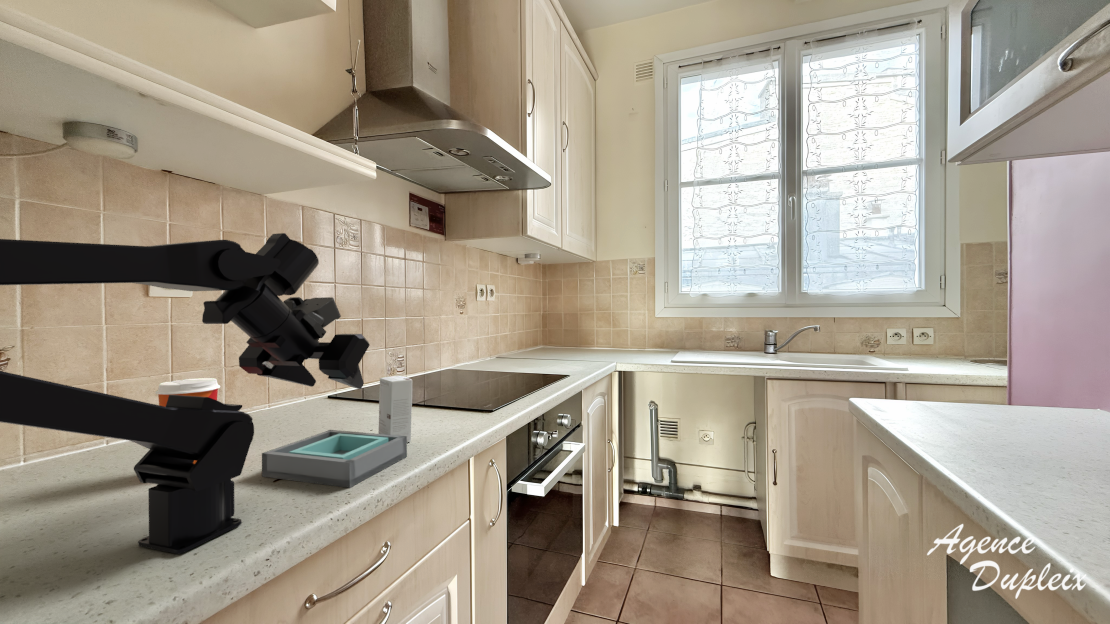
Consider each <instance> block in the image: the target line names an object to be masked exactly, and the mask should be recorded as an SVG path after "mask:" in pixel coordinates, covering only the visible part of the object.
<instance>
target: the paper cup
mask: <svg viewBox="0 0 1110 624" xmlns="http://www.w3.org/2000/svg"><path fill="white" fill-rule="evenodd" d="M220 388H221V385H220V384H218V380H217V378H215V377H214V378H213V377H212V378H211V377H203V378H202V377H201V378H198V377H197V378H196V377H195V378H186V379H177V380H171V381H164V382H161V383H159V385H158V390H156V391H155V392H154V394H156V395H158V405H160V406H164V407H166V404H167V401H168V397H169V395H183V396H198V397H209V398H212V399H215V400H217V401H218V394H219V393H218V391H219V389H220ZM196 462H197V461H196V460H194V462H193V464H195V463H196Z"/></svg>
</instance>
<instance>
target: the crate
mask: <svg viewBox="0 0 1110 624" xmlns="http://www.w3.org/2000/svg"><path fill="white" fill-rule="evenodd" d="M407 457H408V443H407V436H398V435H386V434H379V433H375V432H374V433H373V432H362V431H361V432H359V431H349V430H338V429H337V430H336V429H328V430H325V431H321V432H320V433H316V434H313V435H311V436H308V437H305V438H302V439H299V440H296V441H292V442H290V443H287V444H285V445H282V446H278V447H276V448H273V449H270V450H267V451H263V452H261V477H264V478H272V479H277V480H278V479H279V480H287V481H293V482H294V481H295V482H296V481H297V482H302V483H310V484H316V485H317V484H318V485H324V486H325V485H326V486H331V487H333V486H334V487H340V488H341V487H342V488H349V489H350V488H352V487H354V486H356V485H357V484H359V483H361V482H364V481H365V480H366V479H368V478H370V477H372V476H375V475H376V474H378V473H380V472H381V471H383V470H385V469H387V468H389V467H391V466H392V465H395V464H397V463H398V462H400V461H402V460H404V459H406V458H407Z"/></svg>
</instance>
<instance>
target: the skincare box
mask: <svg viewBox="0 0 1110 624" xmlns="http://www.w3.org/2000/svg"><path fill="white" fill-rule="evenodd" d="M378 396H379V397H378V398H379V399H378V434H386V435H398V436H407V444H408V442H409V443H411V442H412V414H413V413H412V408H413V406H412V405H413V379H411V378H409V377H406V376H403V375H392V376H385V377H380V378H379V394H378Z"/></svg>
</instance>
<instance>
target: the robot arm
mask: <svg viewBox="0 0 1110 624" xmlns="http://www.w3.org/2000/svg"><path fill="white" fill-rule="evenodd" d="M318 266H319V258H318V256H317V254H316V253H315V251H314V250H313V249H312V248H309V247H307V246H306V245H305V244H303V243H301V242H299V241H297V240H294V239H291V238H290V237H289V236H288V234H287V233H285V232H281V233H272V234H271V235H270V236H269V237H268V239H267V240H266V241H265V243H264V245H263V246H261V248H260V249H259V250H257V252H255V253H254V252H253V253H252V252H248V251H246V250H244V249H243V248H242V246H241V244H240V243H238V242H237V241H234V240H230V239H213V240H199V241H186V242H177V243H176V242H175V243H165V244H157V245H156V244H155V245H148V246H147V245H146V246H145V245H131V244H130V245H126V244H107V243H106V244H105V243H88V242H87V243H86V242H71V241H70V242H68V241H49V240H27V239H26V240H25V239H9V238H0V286H34V285H35V286H37V285H38V286H39V285H41V286H42V285H48V286H49V285H78V284H79V285H92V284H93V285H95V284H96V285H97V284H138V285H145V286H151V287H156V288H161V289H169V290H177V291H178V290H179V291H186V292H214V291H215V292H216V291H217V292H218V291H223V292H222V293H221V294H220V295H219V296H218V297H217V298H216V299H215V300H205V301H204V302H203V307H204V308H203V313H202V319H201V322H202V323H203V324H204V325H227V324H229V323H230V322H231V323H233V324H234V325H235V326H236V327H237V328H239V329H240V330H242V332H244V333H245V334H246V335H247V336H248V337H249V339H248V340H247V341H246V344H247V345H248V346H247V347H246V348H245V349H244V350H243V352H242V353H241V354H240V355H239V356H238V366H239V368H241V369H242V370H244V372H246V373H247V374H251V375H257V376H259V377H264V378H265V377H266V378H269V379H274V380H279V381H285V382H289V383H293V384H298V385H302V386H306V387H312V388H313V387H314V386H315V384H317V380H316V378H315V377H314V376H313V374H312V373H311V372H310V371H309V370H308V369H307V367H305V365H304V364H303V363H304V361H305V360H310V359H311V360H312V359H313V360H318V370H319V371H320V372H321V373H322V374H324V375H326V376H328V377H327V379H328V380H331V381H334V382H337V383H340V384H343V385H346V386H349V387H351V388H354V389H357V390H361V389H362V388H363V387H364V379H363V376H362V372H361V369H360V363H361V360H362V359H363V358H364V356H365V354H366V352H367V350H368V349H369V347H370V346H371V345H370V343H369V341H368V340H367V339H366V337H365V336H364V334H362V333H338V334H334V336H333V338H332V339H331V341H330V342H325V341H323V342H322V341H321V342H320V341H319V340H320V339H323V338H324V336H325V334H326V333H327V331H326V330H325V327H327V326H329V325H330V324H331V323H333V322H334V321H335V320H338V319H340V318H341V317H342V315H341V313H340V310H339V308H338V305H337V303H336V300H335V298H334V297H332V296H330V297H311V298H305V299H303V298H301V297H299V296H298V297H297V296H295V297H294V296H293V295H295V294H297V292H298V291H299V289H300V288H301V287H302V286H303V284H304V283H305V282H306V281H307V280H308V279H309V277H310V276H311V275H312V273H314V271H315V270H316V269H317V267H318ZM280 296H282V297H283V296H291V297H288V298H287V299H285V300H282V299H281V298H280ZM292 296H293V297H292ZM242 408H243V405H242V404H237V403H236V404H233V403H232V404H231V403H223V402H221V401H219V400H218V399H217V400H215V399H212V398H209V397H198V396H183V395H169V397H168V401H167V404H166V407H164V406H160V405H159V404H155V403H150V402H145V401H141V400H135V399H132V398H128V397H123V396H117V395H113V394H109V393H103V392H100V391H95V390H90V389H85V388H80V387H76V386H71V385H67V384H62V383H58V382H54V381H49V380H44V379H41V378H34V377H30V376H24V375H21V374H16V373H12V372H7V371H2V370H0V424H1V423H3V424H10V425H16V426H24V427H31V428H37V429H38V428H39V429H45V430H51V431H52V430H53V431H60V432H65V433H74V434H82V435H88V436H95V437H102V438H111V439H117V440H122V441H124V440H125V441H129V442H132V443H136V444H137V445H140V446H142V447H143V448H146V449H148V450H147V452H146V453H145V454H144V455H143V456H142V457H141V458H140V460H139V461H138V462H137V463H136V464H135V465H134V466H133V471H134V473H135V474H136V478H138V480H139V482H140V483H141V484H154V486H153V487H149V488H147V489H148V536H145V537H142V538H141V539H139V540H137V546H139V547H143V548H146V549H152V550H156V551H162V552H166V553H171V554H176V555H180V554H184V553H186V552H188V551H190V550H192V549H194V548H196V547H198V546H200V545H202V544H204V543H206V542H209V541H210V540H213V539H214V538H216V537H219V536H220V535H223V534H225V533H227V532H229V531H231V530H233V529H235V528H237V527H239V526H241V525H242V519H240V518H237V517H235V518H234V516H235V511H236V510H235V481H233V480H232V479H234V478H237V477H239V476H241V474H242V473H243V469H244V466H245V462H246V460H247V457H248V454H249V450H250V447H251V444H252V442H253V439H254V435H255V425H254V422H253V417H252V415H250V414H248V413H246V412H244V411H240V410H242ZM194 460H196V461H197V462H196V463H195V464H193V462H194Z"/></svg>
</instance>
